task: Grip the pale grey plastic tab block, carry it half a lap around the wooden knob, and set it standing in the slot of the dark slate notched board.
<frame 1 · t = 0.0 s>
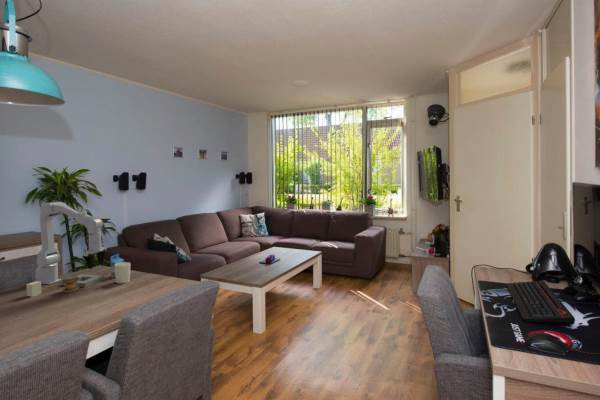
hand: (95, 266, 183), 10 cm above the table, tool pointing down, fingers open, 7 cm apart
notched board: (83, 282, 188), on the table
white cup: (122, 282, 191), on the table
label tape box: (118, 275, 202), on the table
tab block: (34, 295, 168), on the table
wooden knob: (71, 290, 175), on the table
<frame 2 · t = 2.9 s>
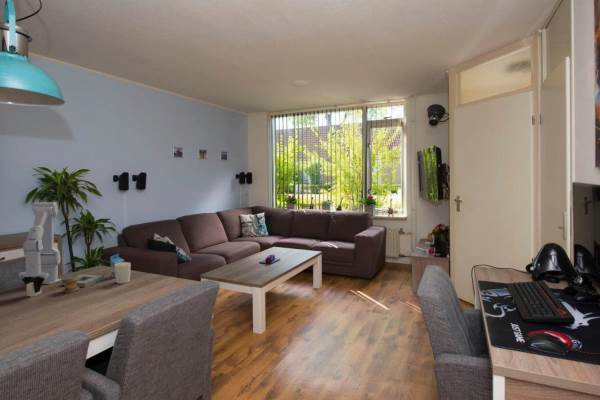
hand: (34, 291, 168), 2 cm above the table, tool pointing down, fingers closed on tab block, 3 cm apart
tab block: (34, 294, 168), on the table, touching gripper
everything else where it was.
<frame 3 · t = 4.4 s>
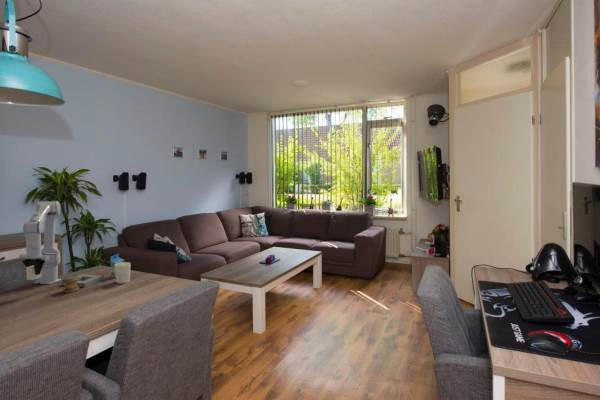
hand: (34, 274, 167), 10 cm above the table, tool pointing down, fingers closed on tab block, 3 cm apart
tab block: (34, 278, 167), point 8 cm above the table, touching gripper
everything else where it was.
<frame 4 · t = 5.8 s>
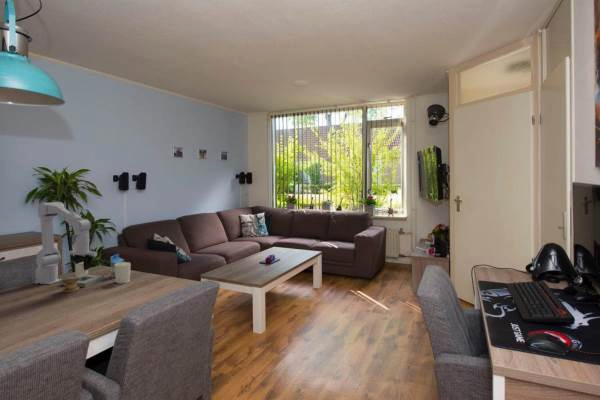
hand: (83, 269, 176), 10 cm above the table, tool pointing down, fingers closed on tab block, 3 cm apart
tab block: (82, 274, 176), point 8 cm above the table, touching gripper
everything else where it was.
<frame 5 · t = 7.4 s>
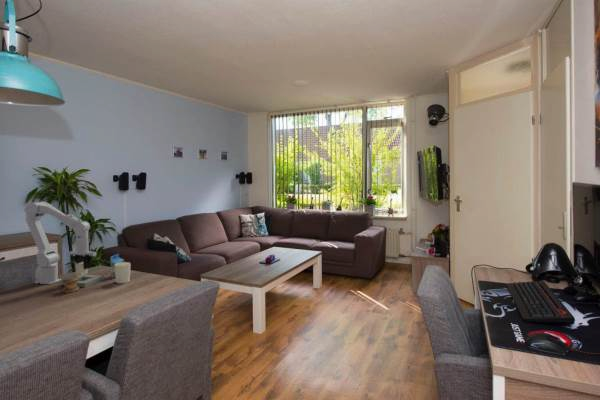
hand: (83, 268, 188), 8 cm above the table, tool pointing down, fingers closed on tab block, 3 cm apart
tab block: (82, 274, 187), point 5 cm above the table, touching gripper
everything else where it was.
when the fingers open (3 cm above the table, at t = 8.6 s): tab block stays where it is, resting in notched board.
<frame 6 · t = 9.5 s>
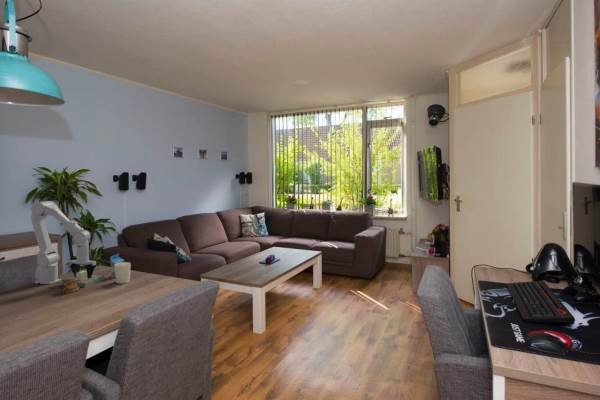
hand: (83, 277, 188), 3 cm above the table, tool pointing down, fingers open, 7 cm apart
tab block: (82, 282, 188), resting in notched board
everything else where it was.
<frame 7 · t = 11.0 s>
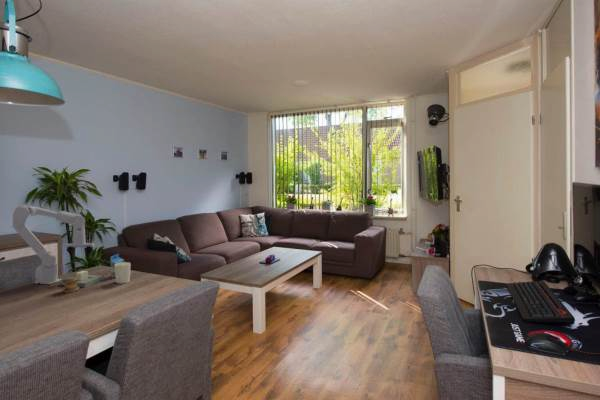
hand: (80, 259, 196), 10 cm above the table, tool pointing down, fingers open, 7 cm apart
nothing on the table moved.
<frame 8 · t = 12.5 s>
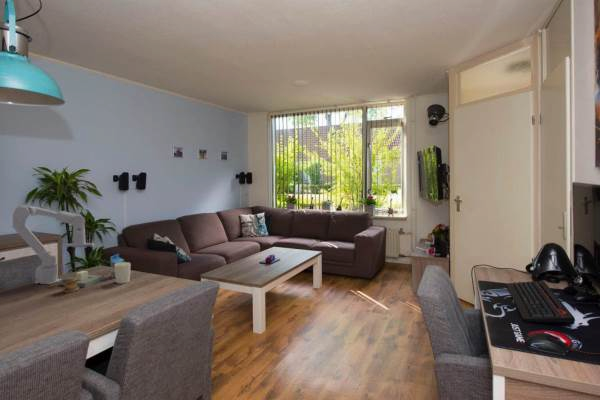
hand: (80, 259, 196), 10 cm above the table, tool pointing down, fingers open, 7 cm apart
nothing on the table moved.
at the end: tab block 0.9 cm off-centre on the notched board, point 0.0 cm above the notched board's base; tab block tilted 0°; the gripper is holding nothing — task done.
